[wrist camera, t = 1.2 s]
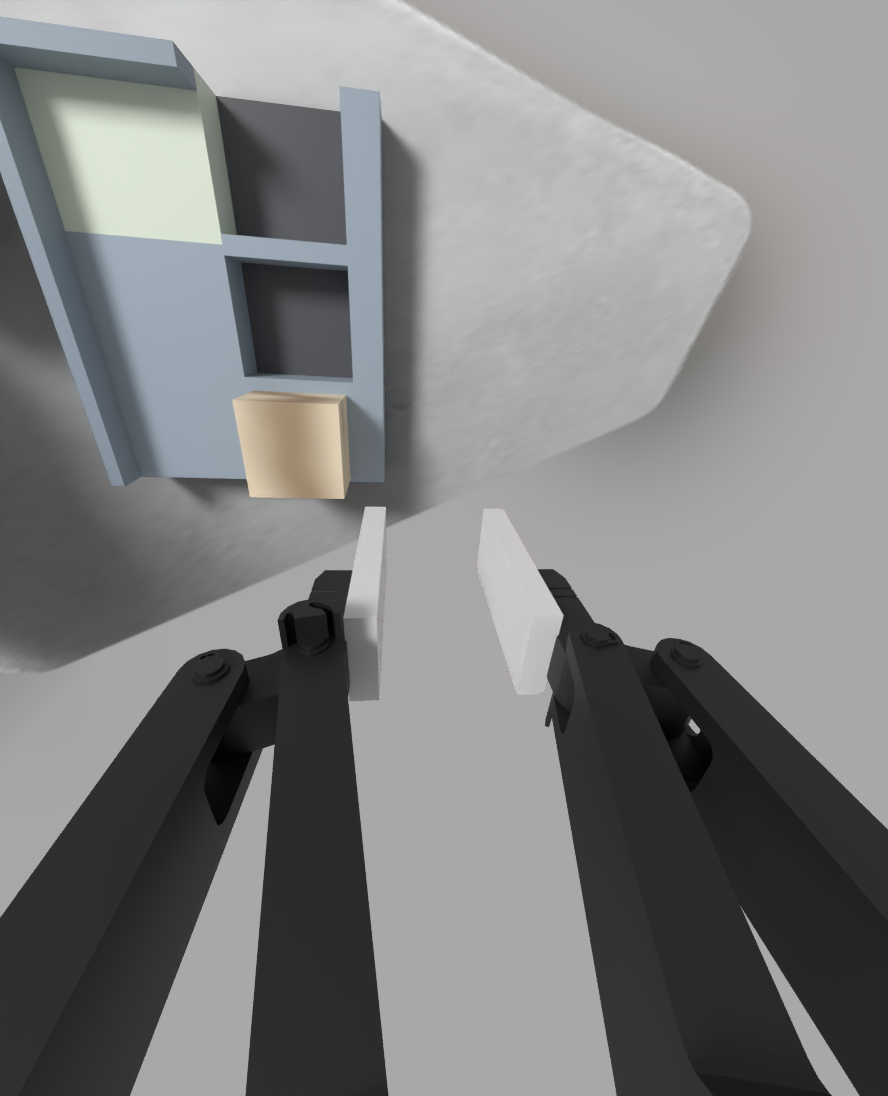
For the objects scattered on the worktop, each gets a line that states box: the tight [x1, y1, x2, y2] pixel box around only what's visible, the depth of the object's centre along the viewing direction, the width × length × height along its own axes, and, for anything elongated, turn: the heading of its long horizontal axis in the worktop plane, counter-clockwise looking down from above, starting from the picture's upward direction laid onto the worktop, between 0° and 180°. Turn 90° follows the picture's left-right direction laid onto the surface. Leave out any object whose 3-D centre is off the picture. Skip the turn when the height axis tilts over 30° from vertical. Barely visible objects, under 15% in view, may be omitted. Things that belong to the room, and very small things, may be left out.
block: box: [232, 391, 351, 499], centre depth 27 cm, size 6×6×4 cm
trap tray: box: [0, 17, 385, 486], centre depth 25 cm, size 18×21×5 cm
